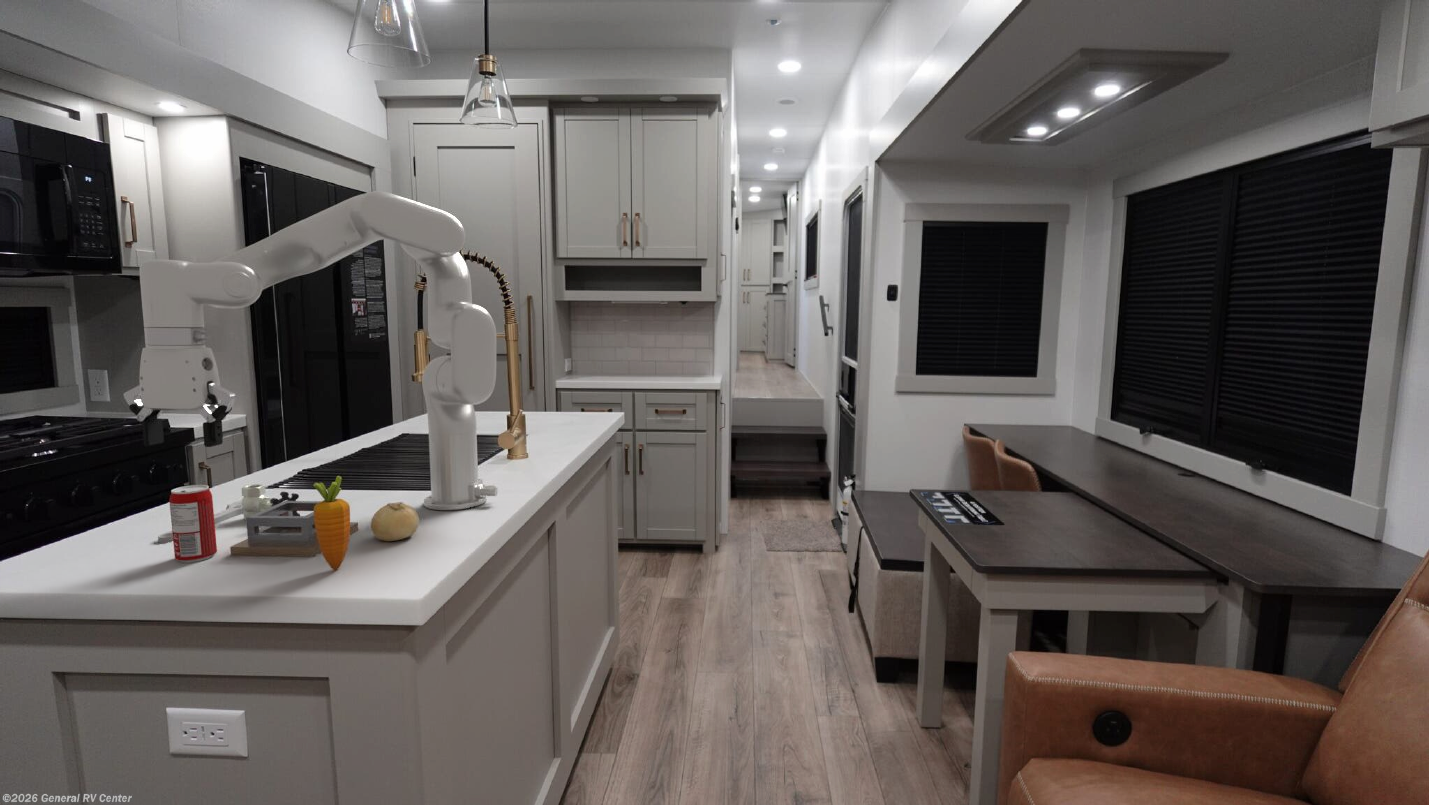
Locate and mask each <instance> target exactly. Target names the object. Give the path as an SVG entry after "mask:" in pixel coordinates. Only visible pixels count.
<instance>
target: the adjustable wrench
mask: <svg viewBox="0 0 1429 805" xmlns="http://www.w3.org/2000/svg"><path fill="white" fill-rule="evenodd" d="M243 512H245V511H244V509H243V508H242V499H241V500H237V501H234V502H232V503H229V504H227V506H226V508H225V509H224V510H222V511H219V512H217V513H214V522H215V525H217V524H219V523H222V522H224V521H225V522H226V521H227V520H229V519H232V518H234V517H238V516H240V515H244V514H243ZM157 538H158V544H167V543H168V542H169V543H172V541H173V533H172V530H170V531H167V532H165V533H162V534H160V535H158V536H157ZM169 543H168V544H169Z"/></svg>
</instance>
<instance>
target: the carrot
mask: <svg viewBox="0 0 1429 805" xmlns="http://www.w3.org/2000/svg"><path fill="white" fill-rule="evenodd" d="M341 483H342V476H340V475H337V476H336V477H335V481H332V482H331V484H330V486H329V487H328V488H326V486H325V484H324V483H323V482H319V483H318V482H314V484H313V486H312V487H314V488H315V490H316V491H317V492H318V493H319V494H320V495H321V497H322V499H323V500H321V502H319V503H317V504H316V505H315V506H314V511H313V512H314V520H315V528H316V535H317V539H318V543H319V546H320V549H321V554H322V556H323V558H324V560H325V562H326V563H327V564H328V566H329V567H330V568H331V569H332V570H333V571H338V570H339V568H341V566H342V563H343V562H344V560H345V558H346V555H347V552H348V548H349V542H350V536H351V535H350V522H351V509H350V504H349V502H347V501H346V500H344V499H343V498H337V496H338V495H339V493H340V492H341V490H342V488H341V487H340V486H341Z"/></svg>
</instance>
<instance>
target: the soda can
mask: <svg viewBox="0 0 1429 805" xmlns="http://www.w3.org/2000/svg"><path fill="white" fill-rule="evenodd" d="M209 487H210V486H209V485H207V484H206V485H205V484H193V485H192V484H191V485H185V486H179V487H176V488H173V489H171V491H170V492H171V493H170V497H169V512H170V519H171V529H172V530H171V531H172V533H173V543H172V544H173V552H174V560H177V561H178V562H179V561H180V563H196V562H201V561H205V560H208V559H211V558H213V557H214V555H216V554H217V552H218V549H217V548H218V546H217V536H216V524H215V522H214V514H215V513H214V512H215V510H214V502H213V501H214V500H213V494H212V491H211V489H210V488H209Z"/></svg>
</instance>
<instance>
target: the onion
mask: <svg viewBox="0 0 1429 805" xmlns="http://www.w3.org/2000/svg"><path fill="white" fill-rule="evenodd" d="M419 522H420V519H419V515H418V512H417V511H416V509H415V508H414V507H413V506H411V505H409V504H406V503H403V501H400V502H399V501H397V502H392V503H391V502H388V503H387V504H386V505H383V506H381V507H380V508H379V509H378V510H377V511H376V512H375V513H374V514H373V516H372V517H371V521H370V529H371V530H370V531H371V532H372V533H373V535H374V536H375V537H376V538H377V539H378V540H381V541H385V542H392V541H400V540H404V539H407V538H410V537H411V536H413V535H414V534H415V533H416V531H417V529H418V528H419V524H420V523H419Z"/></svg>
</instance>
